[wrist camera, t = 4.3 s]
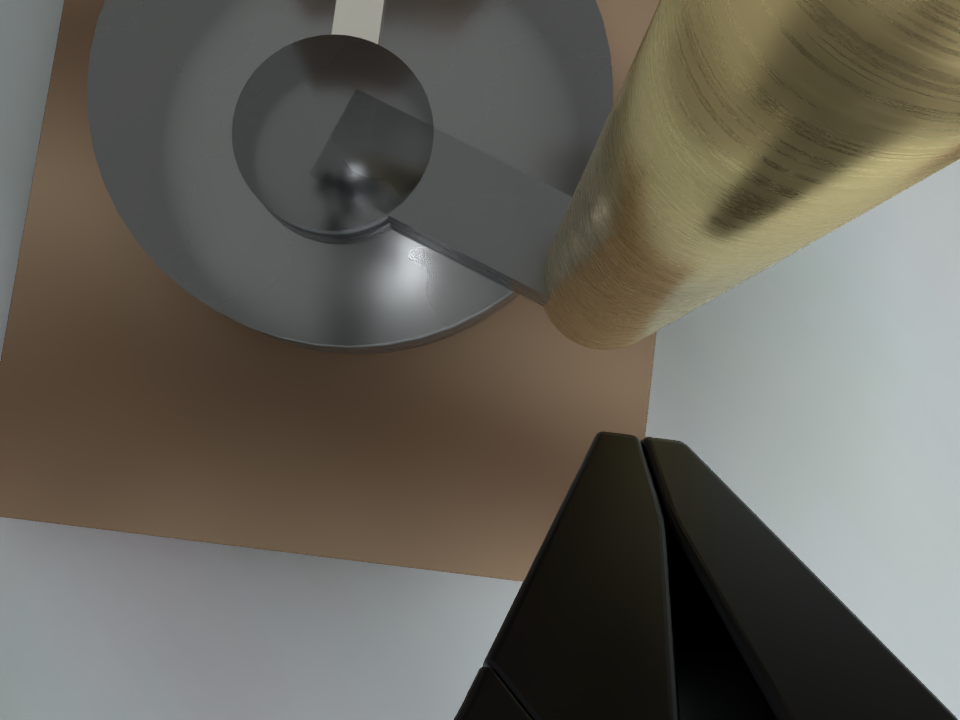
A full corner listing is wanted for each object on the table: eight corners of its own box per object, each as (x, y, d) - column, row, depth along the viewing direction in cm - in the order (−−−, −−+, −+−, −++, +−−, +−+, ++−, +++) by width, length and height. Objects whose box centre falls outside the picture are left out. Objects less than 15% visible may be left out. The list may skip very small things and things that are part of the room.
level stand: (618, 585, 17) (743, 703, 9) (2, 509, 17) (-376, 565, 9) (705, -226, 18) (872, -687, 11) (143, -299, 18) (-82, -815, 11)
